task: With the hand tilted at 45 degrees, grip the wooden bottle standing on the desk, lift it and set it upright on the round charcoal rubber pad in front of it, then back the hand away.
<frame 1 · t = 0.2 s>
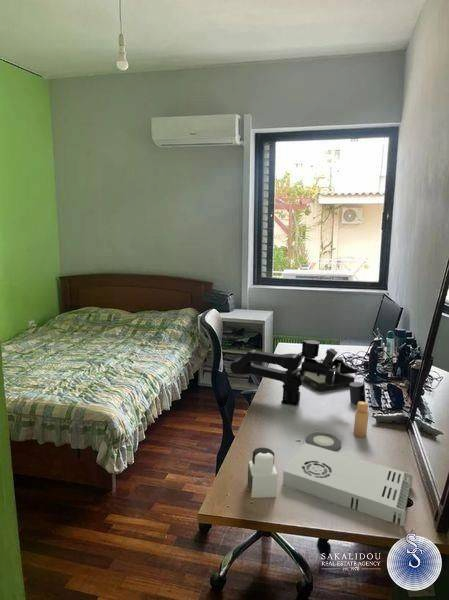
hand: (355, 375, 167), 17 cm above the table, tool horizontal, fingers open, 9 cm apart
power supply unit: (346, 488, 123), on the table
speaker: (357, 403, 181), on the table
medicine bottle: (261, 490, 120), on the table
network switch: (322, 382, 205), on the table
wooden bottle: (359, 434, 154), on the table
charcoal pad: (323, 442, 147), on the table
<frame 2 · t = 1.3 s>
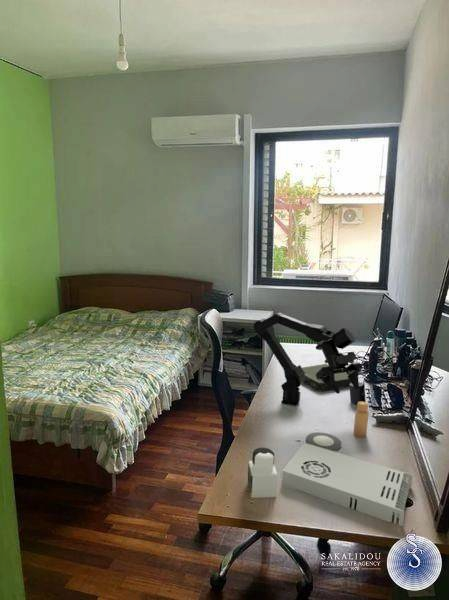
hand: (348, 391, 159), 13 cm above the table, tool tilted 45°, fingers open, 9 cm apart
nothing on the table moved.
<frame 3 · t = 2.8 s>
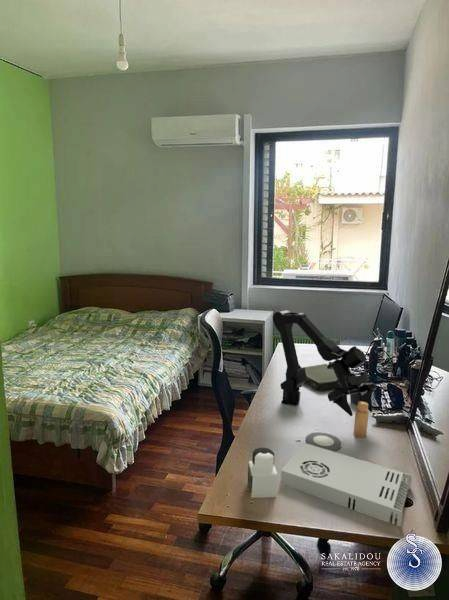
hand: (361, 413, 153), 8 cm above the table, tool tilted 45°, fingers open, 9 cm apart
nothing on the table moved.
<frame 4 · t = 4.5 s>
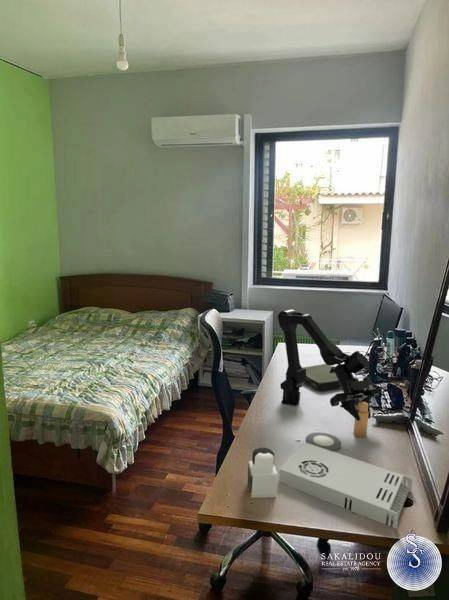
hand: (364, 419, 152), 7 cm above the table, tool tilted 45°, fingers closed on wooden bottle, 4 cm apart
wooden bottle: (359, 434, 154), on the table, touching gripper
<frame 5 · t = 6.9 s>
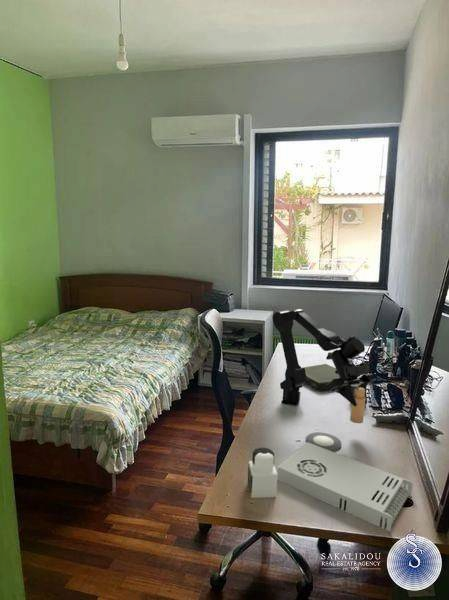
hand: (361, 404, 150), 12 cm above the table, tool tilted 45°, fingers closed on wooden bottle, 4 cm apart
wooden bottle: (356, 420, 152), point 6 cm above the table, touching gripper
when the fingers open (8 cm above the table, at t = 9.5 s): wooden bottle stays where it is, resting on charcoal pad.
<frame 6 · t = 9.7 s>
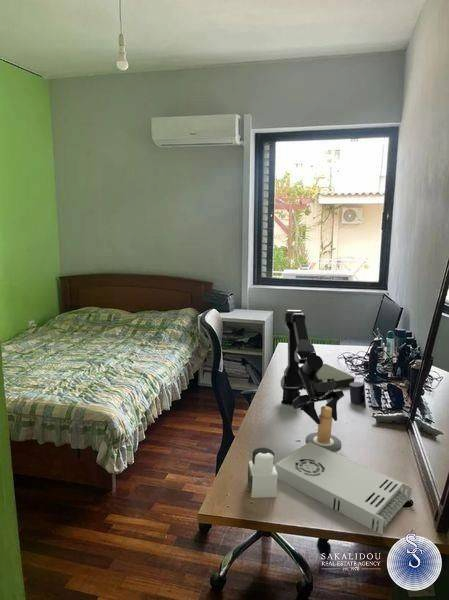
hand: (327, 422, 145), 8 cm above the table, tool tilted 45°, fingers open, 7 cm apart
wooden bottle: (323, 440, 147), point 1 cm above the table, touching charcoal pad
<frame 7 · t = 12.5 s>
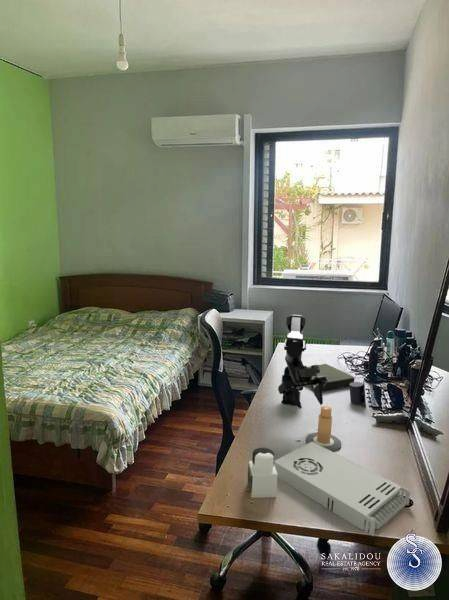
hand: (311, 406, 153), 10 cm above the table, tool tilted 45°, fingers open, 9 cm apart
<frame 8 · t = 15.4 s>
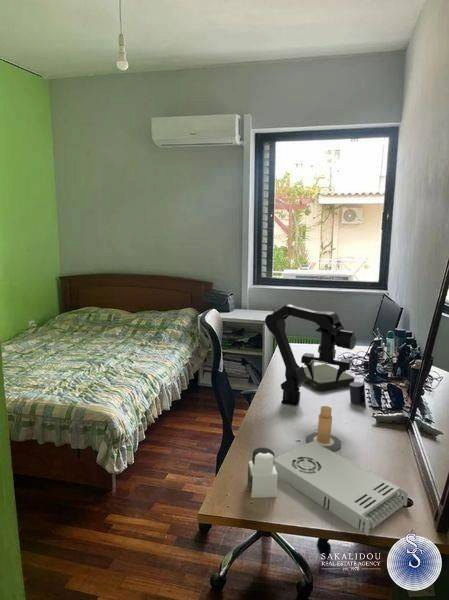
hand: (324, 381, 169), 13 cm above the table, tool pointing down, fingers open, 9 cm apart
at the end: wooden bottle 0.0 cm from the charcoal pad (horizontally); wooden bottle tilted 0°; the gripper is holding nothing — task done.
